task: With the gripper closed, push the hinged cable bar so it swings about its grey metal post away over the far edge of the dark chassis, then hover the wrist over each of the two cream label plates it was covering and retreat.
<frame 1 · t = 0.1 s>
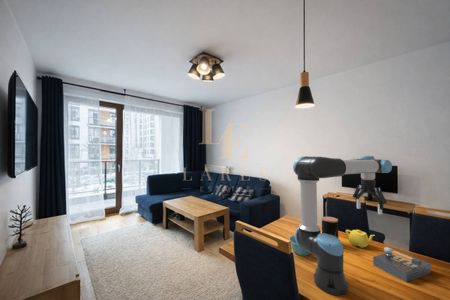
hand: (368, 211, 127), 28 cm above the table, fingers open, 13 cm apart
teapot: (359, 245, 138), on the table
chassis: (401, 268, 110), on the table
coffee jar: (330, 243, 142), on the table
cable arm: (401, 255, 110), point 8 cm above the table, hinge at 0.0°
bowl: (301, 252, 129), on the table
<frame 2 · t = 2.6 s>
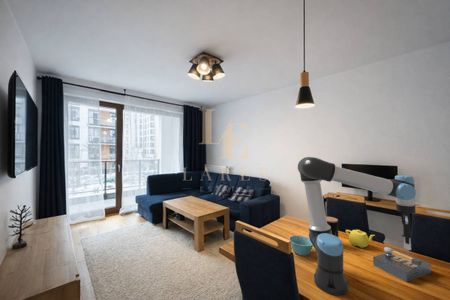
hand: (407, 248, 103), 15 cm above the table, fingers closed
nothing on the table moved.
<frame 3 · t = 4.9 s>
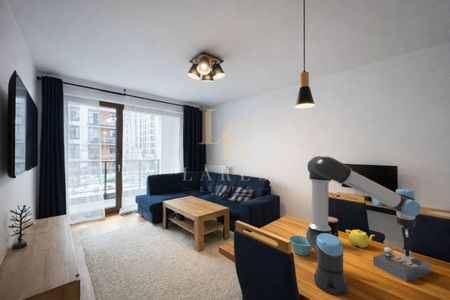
hand: (407, 261, 105), 7 cm above the table, fingers closed
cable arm: (401, 255, 110), point 8 cm above the table, hinge at 1.3°, touching gripper
everything else where it was.
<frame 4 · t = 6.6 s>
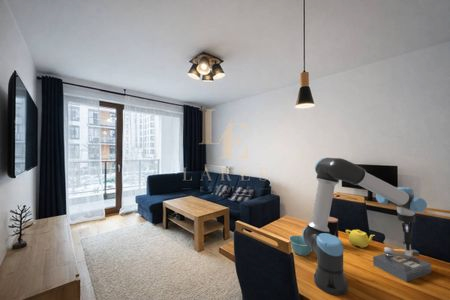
hand: (408, 255, 112), 7 cm above the table, fingers closed
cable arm: (400, 251, 114), point 8 cm above the table, hinge at 58.7°, touching gripper
everything else where it was.
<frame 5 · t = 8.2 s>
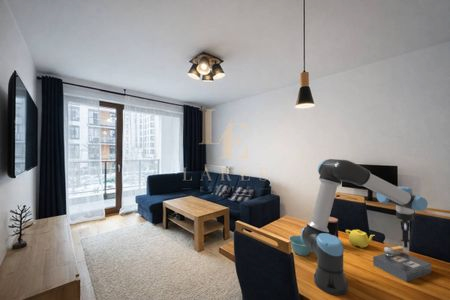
hand: (405, 252, 116), 7 cm above the table, fingers closed
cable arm: (396, 249, 117), point 8 cm above the table, hinge at 86.5°, touching gripper
everything else where it was.
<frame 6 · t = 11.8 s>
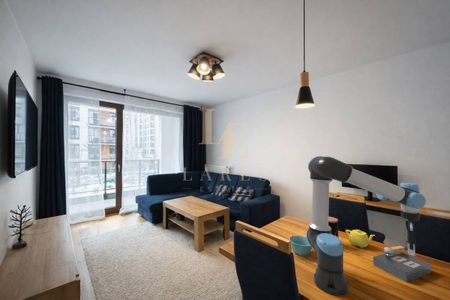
hand: (411, 254, 106), 10 cm above the table, fingers closed
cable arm: (396, 249, 117), point 8 cm above the table, hinge at 86.6°
everything else where it was.
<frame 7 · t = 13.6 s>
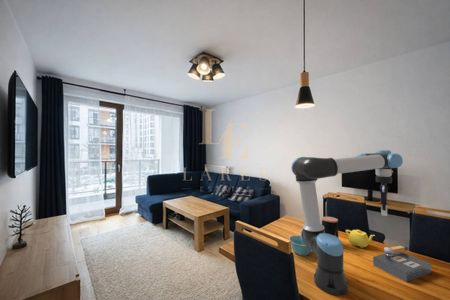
hand: (384, 215, 115), 29 cm above the table, fingers closed
nothing on the table moved.
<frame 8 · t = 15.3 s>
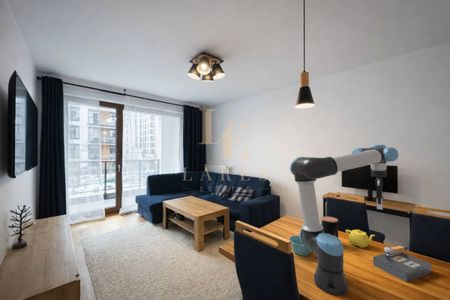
hand: (379, 208, 117), 32 cm above the table, fingers closed
nothing on the table moved.
at the end: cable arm at +87° (first picture: +0°) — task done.
